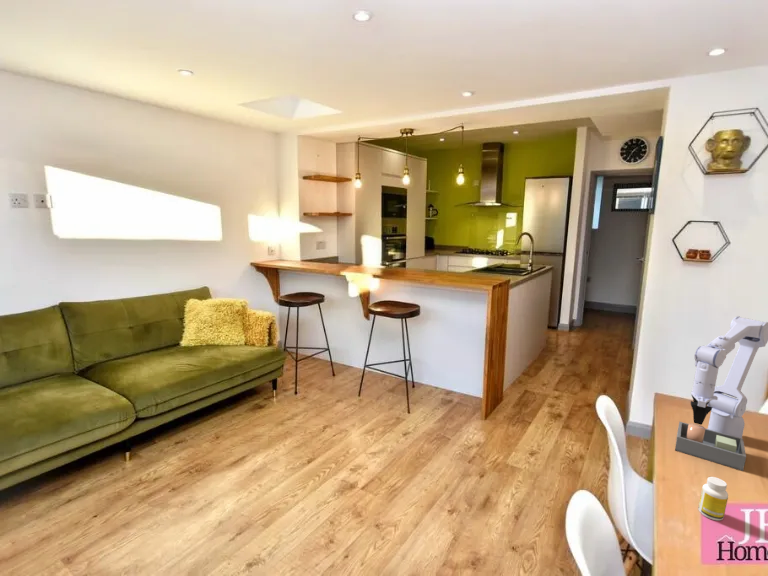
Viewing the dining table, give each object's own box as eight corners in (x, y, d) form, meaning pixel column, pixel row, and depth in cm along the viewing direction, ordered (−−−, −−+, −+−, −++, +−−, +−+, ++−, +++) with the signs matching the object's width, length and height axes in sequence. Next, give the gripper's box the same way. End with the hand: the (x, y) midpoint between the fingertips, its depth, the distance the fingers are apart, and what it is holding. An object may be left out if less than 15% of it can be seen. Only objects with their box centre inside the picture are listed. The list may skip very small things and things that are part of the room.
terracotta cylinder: (682, 441, 144) (685, 423, 143) (695, 441, 144) (698, 423, 143) (691, 448, 140) (694, 430, 138) (705, 449, 139) (708, 430, 138)
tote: (740, 452, 140) (743, 438, 139) (743, 471, 129) (746, 456, 128) (677, 434, 150) (679, 421, 149) (675, 450, 139) (677, 436, 138)
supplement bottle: (728, 523, 107) (735, 489, 105) (704, 519, 108) (711, 486, 106) (716, 508, 112) (722, 476, 110) (693, 505, 113) (699, 473, 111)
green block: (713, 448, 140) (716, 434, 139) (732, 453, 137) (735, 440, 136) (714, 454, 136) (717, 441, 135) (733, 460, 133) (736, 446, 132)
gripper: (720, 392, 129) (713, 431, 132) (719, 378, 141) (712, 414, 143) (692, 386, 134) (686, 424, 136) (693, 372, 145) (687, 408, 147)
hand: (697, 419), depth 140 cm, fingers open, 7 cm apart
